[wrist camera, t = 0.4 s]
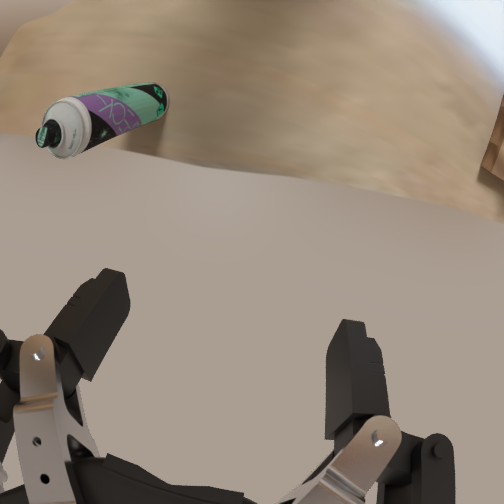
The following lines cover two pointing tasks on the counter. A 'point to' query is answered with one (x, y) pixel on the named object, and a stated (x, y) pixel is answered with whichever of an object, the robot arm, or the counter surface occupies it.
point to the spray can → (99, 117)
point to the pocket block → (496, 147)
